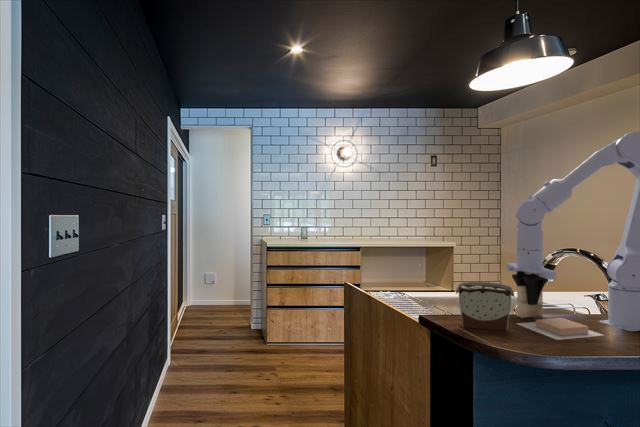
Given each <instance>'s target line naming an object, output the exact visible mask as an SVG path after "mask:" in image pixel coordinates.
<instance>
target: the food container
mask: <svg viewBox="0 0 640 427" xmlns="http://www.w3.org/2000/svg"><path fill="white" fill-rule="evenodd" d="M457 294H458V299H459V306H460V307H459V309H460V317H461V325H462V328H463V330H465V328H469V329H485V330H496V331H497V330H499V331H508V330H509V320H510V313H511V312H510V311H511V304H512V297H513V298H515V297H516V296H515V293H514V290H513V287H511V286H509V285H507V284H501V283H495V282H487V281H486V282H485V281H483V282H482V281H468V282H467V281H466V282H461V283H459V284H458V285H457V287H456V290H455V295H457Z"/></svg>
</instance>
